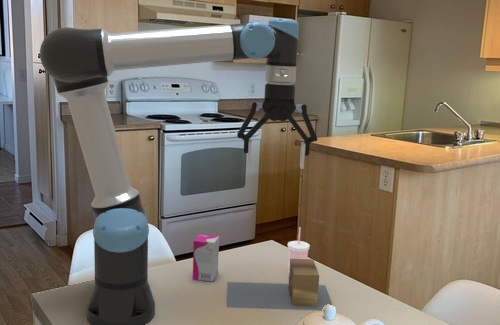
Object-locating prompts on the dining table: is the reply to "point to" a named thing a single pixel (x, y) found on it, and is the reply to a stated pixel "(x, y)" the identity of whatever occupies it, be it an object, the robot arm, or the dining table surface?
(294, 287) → the walnut block
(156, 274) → the dining table surface
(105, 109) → the robot arm
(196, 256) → the supplement box
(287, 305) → the slate mat
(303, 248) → the beverage cup
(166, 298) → the dining table surface
